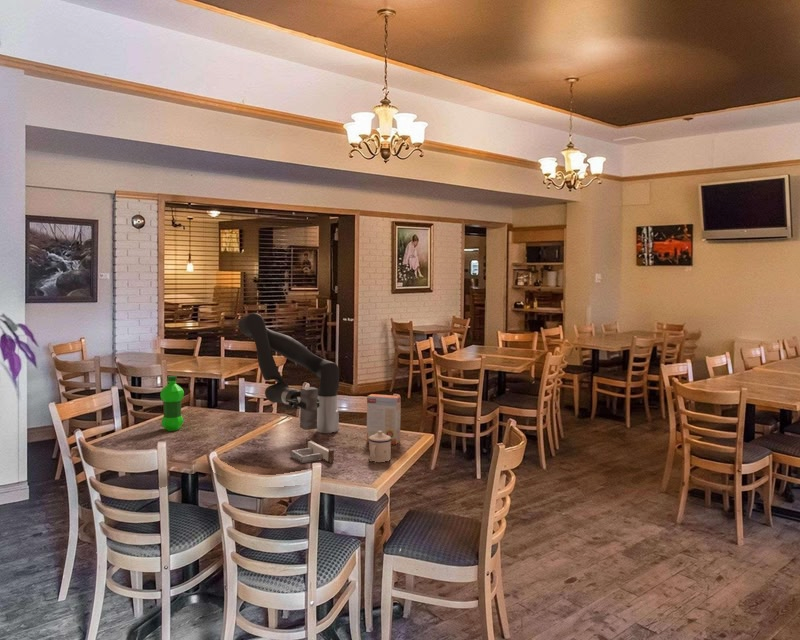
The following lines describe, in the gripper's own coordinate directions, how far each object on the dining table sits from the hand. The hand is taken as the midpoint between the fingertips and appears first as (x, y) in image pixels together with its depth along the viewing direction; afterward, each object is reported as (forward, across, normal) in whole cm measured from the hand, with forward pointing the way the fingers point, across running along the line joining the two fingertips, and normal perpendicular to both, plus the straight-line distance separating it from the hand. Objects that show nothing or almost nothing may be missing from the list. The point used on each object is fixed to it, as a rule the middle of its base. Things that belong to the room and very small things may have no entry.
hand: (311, 405), depth 245 cm
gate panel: (-2, +5, +21) cm, 22 cm away
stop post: (-3, 0, +10) cm, 10 cm away
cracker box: (-7, +39, +22) cm, 45 cm away
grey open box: (-2, 0, +22) cm, 22 cm away
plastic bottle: (-76, -33, +23) cm, 86 cm away
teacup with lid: (+16, +22, +22) cm, 34 cm away
